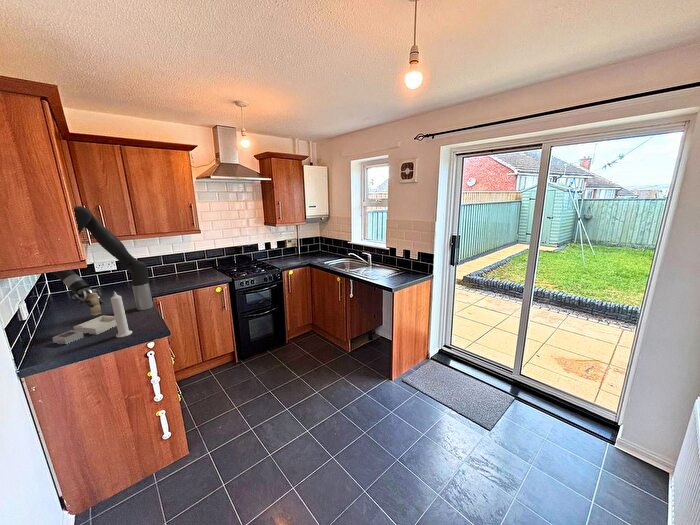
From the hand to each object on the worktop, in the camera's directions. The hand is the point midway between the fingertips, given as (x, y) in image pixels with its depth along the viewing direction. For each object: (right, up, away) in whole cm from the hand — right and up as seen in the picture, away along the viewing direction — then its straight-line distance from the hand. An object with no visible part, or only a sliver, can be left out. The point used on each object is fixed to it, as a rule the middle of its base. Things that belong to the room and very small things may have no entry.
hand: (97, 304), depth 163 cm
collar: (-5, -17, -12) cm, 21 cm away
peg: (-2, -5, +2) cm, 6 cm away
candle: (+21, -16, -7) cm, 27 cm away
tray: (-1, -14, +4) cm, 14 cm away
